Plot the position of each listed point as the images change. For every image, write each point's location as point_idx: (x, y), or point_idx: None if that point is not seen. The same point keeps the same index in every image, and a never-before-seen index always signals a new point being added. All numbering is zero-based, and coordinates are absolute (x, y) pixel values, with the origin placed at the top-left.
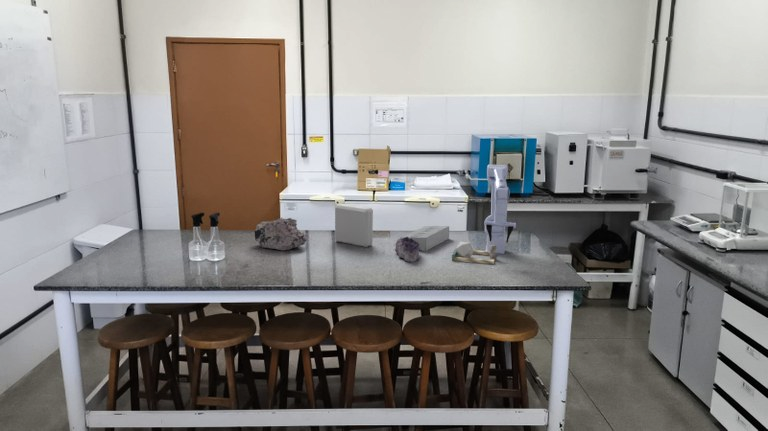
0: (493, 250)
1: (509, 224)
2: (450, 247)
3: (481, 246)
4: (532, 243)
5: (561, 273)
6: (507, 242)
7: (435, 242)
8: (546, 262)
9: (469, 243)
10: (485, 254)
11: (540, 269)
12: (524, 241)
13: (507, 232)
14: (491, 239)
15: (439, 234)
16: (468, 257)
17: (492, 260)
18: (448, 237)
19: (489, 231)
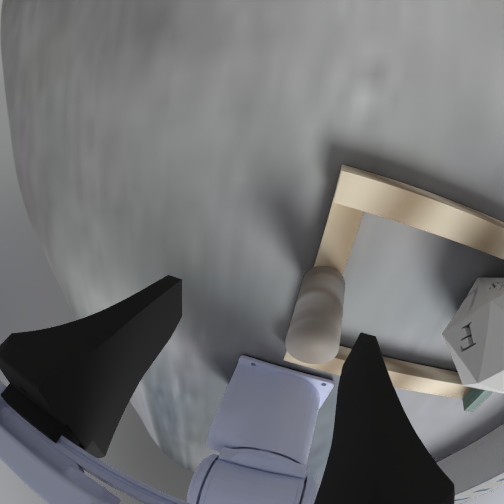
0: (321, 303)
1: (3, 445)
2: (455, 425)
3: (323, 433)
4: (146, 415)
5: (23, 81)
6: (170, 276)
7: (497, 440)
8: (66, 229)
9: (489, 374)
10: (347, 350)
11: (77, 110)
12: (169, 432)
13: (91, 350)
14: (344, 368)
15: (471, 476)
16: (484, 281)
17: (350, 190)
18: None
19: (400, 444)
